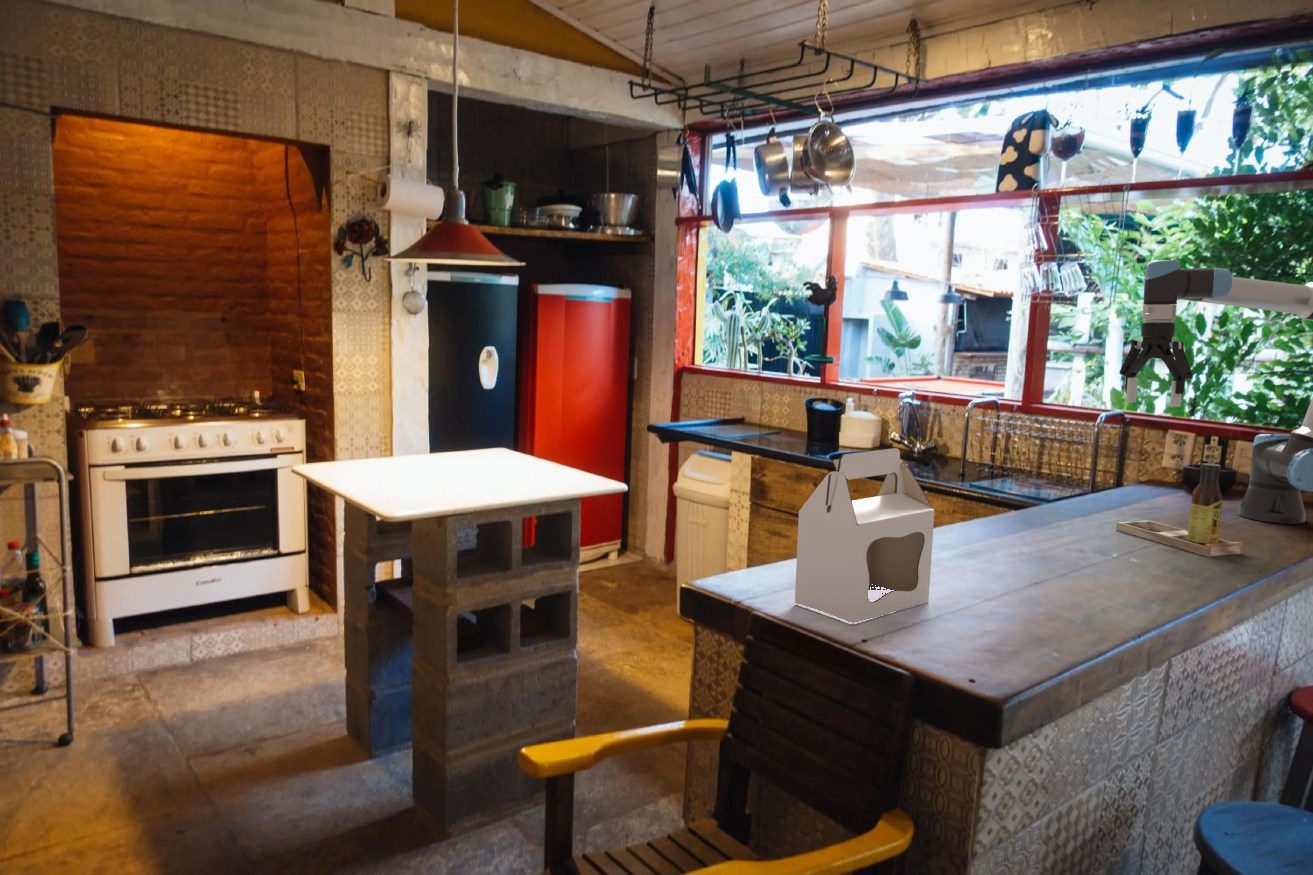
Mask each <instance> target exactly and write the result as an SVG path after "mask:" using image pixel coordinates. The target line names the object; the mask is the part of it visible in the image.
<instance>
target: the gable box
mask: <svg viewBox="0 0 1313 875" xmlns="http://www.w3.org/2000/svg"><path fill="white" fill-rule="evenodd" d="M900 452H901V451H900V449H899V448H896V447H892V448H887V449H886V448H885V449H877V450H876V449H875V450H868V451H861V452H860V451H858V452H852V453H851V452H850V453H843V454H841V455H840V456H839V458H838V459H833V460H832V464H833V466H834V470H835V471H834V470H833V471H831V472H829V473H827V474H826V475H825V477H824V478H823V479H822V480H821V482H820V483H819V484H818V486H816V489H814V491H813V492H812V493H811V495H810V496H809V497H808V499H807V500H806V501H805V503H803V505H802V507H801V508H800V509H799V510H798V523H797V524H798V525H797V545H796V564H795V565H796V567H795V568H796V569H795V588H794V589H795V590H794V591H795V592H794V604H795V603H797V604H802V605H804V606H807V607H810V608H814V609H817V610H819V611H823V612H825V613H828V614H830V615H833V616H836V617H838V618H841V619H844V620H846V621H848V622H852V623H854V622H859V621H863V620H866V619H870V618H875V617H878V616H881V615H886V614H889V613H891V612H894V611H899V610H902V609H906V608H909V609H911V607H912V608H914V606H915V607H918V606H917V605H919V606H921V604H922V605H925V604H929V600H930V587H931V586H930V584H931V569H932V568H931V567H932V554H933V539H934V526H935V525H934V522H935V521H934V520H935V509H934V507H933V505H932V503H931V502H930V500H929V499H928V497H927V495H926V494H925V492H924V490H923V489H922V487H921V485H920V484H919V482H918V480H917V479H916V477H915V475H914V473H913V472H912V470H911V469H910V468H909V466H908V464H907V463H902V462H901V453H900ZM883 475H885V478H884V481H883V483H882V484H881V487H880V489H879V492H878V494H877V495H876V496H873V497H866V498H860V499H854V500H852V497H851V492H850V489H849V484H848V481H849V480H850V481H851V480H855V479H864V478H869V477H870V478H871V477H876V476H883ZM872 584H873V585H872ZM875 585H876V586H875ZM878 586H879V587H880V589H877V590H881V587H884V588H886V590H887V589H890V590H894V591H891V592H889V593H887V594H886V593H885V595H883V596H882V597H881V598H879V599H878V600H876V601H874V602H870V601H869V599H868V590H870V587H871V590H876V588H875V587H878ZM872 587H874V588H872ZM883 590H885V589H883ZM882 594H883V593H882ZM906 610H907V609H906ZM902 611H903V610H902ZM899 612H900V611H899ZM889 615H890V614H889ZM886 616H887V615H886Z"/></svg>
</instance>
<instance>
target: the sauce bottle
mask: <svg viewBox="0 0 1313 875" xmlns="http://www.w3.org/2000/svg"><path fill="white" fill-rule="evenodd" d="M1199 470H1200V476H1199V483H1198V484H1197V486H1195V487H1194V489H1193V490H1192V494H1191V496H1192V497H1191V502H1190V509H1189V516H1188V517H1189V518H1188V525H1187V526H1188V527H1187V530H1188V534H1187V541H1189V542H1192V543H1196V544H1199V545H1203V546H1205V544H1216V543H1218V540H1219V539H1220V529H1221V521H1222V514H1223V513H1222V512H1223V506H1224V505H1223V503H1224V499H1223V494H1222V492H1221V488H1220V482H1219V481H1220V473H1221V471H1222V465H1221V464H1217V463H1205V462H1203V463H1200V468H1199Z"/></svg>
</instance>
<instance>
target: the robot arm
mask: <svg viewBox="0 0 1313 875" xmlns="http://www.w3.org/2000/svg"><path fill="white" fill-rule="evenodd" d="M1180 263H1181V262H1180V261H1179V260H1176V259H1174V260H1173V259H1157V260H1151V261H1149V262H1148V263H1147V264H1146V266H1145V273H1144V278H1143V281H1144V283H1143V285H1144V286H1143V304H1142V316H1141V319H1142V321H1144V322H1142V323H1141V326H1140V328H1141V329H1140V336H1141V337H1142V339H1141V340H1139V339H1137V340H1136V339H1133V340H1132V341H1131V344H1130V350H1129V351H1128V353H1127V356H1126V358H1125V360H1124V362H1123V363H1122V365H1121V368H1120V370H1119V372H1118V373H1119V375H1122V376H1124V377H1125V385H1124V386H1125V387H1124V388H1125V390H1126V397H1125V398H1126V399H1125V403H1128V404H1129V403H1137V397H1138V382H1139V377H1138V376H1137V375H1138V374H1139V372H1140V371H1141V370H1142V368H1143V367H1144V366H1145V365H1146V364H1147V362H1148V361H1149V360H1150V359H1151V360H1152V359H1160V360H1161V361H1163V363H1164V365H1165V366H1166V367H1167V369H1168V371H1169V373H1170V374H1171V375H1172V377H1173V380H1171V387H1170V402H1169V407H1170V408H1180V407H1181V406H1182V394H1184V393H1185V384H1186V383H1185V382H1186V381H1187V380H1191V379H1193V377H1194V375H1193V373H1192V370H1191V367H1190V364H1189V360H1188V358H1187V355H1186V352H1185V348H1184V347H1185V345H1184V344H1185V343H1184V341H1182V340H1177V341H1175V340H1174V341H1173V337H1175V333H1176V332H1175V330H1176V324H1175V322H1174V321H1176V319H1177V305H1178V301H1180V300H1183V301H1189V302H1190V301H1192V302H1200V303H1209V304H1215V305H1216V304H1217V305H1222V306H1223V305H1224V306H1231V307H1238V308H1247V309H1254V310H1262V311H1271V312H1276V313H1277V312H1279V313H1285V314H1287V313H1288V314H1294V315H1296V316H1297V318H1299V319H1301V320H1310V321H1313V281H1309V282H1307V283H1305V284H1297V283H1296V284H1295V283H1287V282H1278V281H1270V280H1265V279H1264V280H1263V279H1256V278H1248V277H1238V276H1232V273H1231V271H1230V270H1229V269H1227V268H1223V267H1221V268H1220V267H1216V266H1215V267H1202V268H1201V267H1198V268H1197V267H1195V268H1184V267H1181V265H1180ZM1251 449H1252V454H1251V463H1250V470H1249V481H1248V487H1247V490H1246V492H1245V494H1244V495H1243V498H1242V500H1241V502H1240V504H1239V505H1238V510H1237V514H1238V515H1239V516H1241V517H1243V518H1246V519H1251V520H1256V521H1260V522H1266V523H1274V524H1275V523H1277V524H1288V525H1289V524H1291V525H1292V524H1303V523H1305V522H1306V516H1307V514H1306V511H1305V506H1304V502H1303V498H1302V495H1301V492H1302V491H1304V492H1310V493H1311V492H1313V396H1312V397H1311V399H1310V403H1309V405H1308V408H1307V410H1306V413H1305V416H1304V418H1303V421H1302V424H1301V426H1300V427H1298V428H1297V429H1294V430H1292V431H1291V432H1290V434H1285V433H1284V434H1283V433H1282V434H1281V433H1260V434H1257V435H1255V437H1254V440H1253V445H1252V448H1251Z"/></svg>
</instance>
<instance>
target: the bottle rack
mask: <svg viewBox="0 0 1313 875" xmlns="http://www.w3.org/2000/svg"><path fill="white" fill-rule="evenodd" d="M1115 526H1116V529H1115V531H1117V530H1118V531H1117V532H1120V531H1123V532H1122V533H1124V532H1126V533H1125V534H1127V533H1128V534H1127V535H1131V534H1133V535H1132V536H1134V535H1136V536H1135V537H1137V536H1139V537H1138V538H1141V537H1142V538H1141V539H1144V538H1147V539H1146V540H1148V539H1150V540H1149V541H1151V540H1153V541H1152V542H1155V541H1157V542H1156V543H1158V542H1161V543H1160V544H1162V543H1164V544H1163V545H1165V544H1167V545H1166V546H1169V545H1171V546H1170V547H1172V546H1174V547H1173V548H1176V547H1177V548H1176V549H1179V548H1181V549H1180V550H1183V549H1184V551H1186V552H1190V553H1193V552H1194V554H1197V555H1201V556H1203V557H1218V556H1219V557H1220V556H1230V555H1240V554H1241V555H1242V554H1243V553H1244V552H1243V550H1244V549H1243V548H1244V544H1245V542H1243V541H1229V540H1226V539H1221V538H1219V540H1218V543H1216V544H1205V546H1203V545H1199V544H1196V543H1192V542H1189V541H1187V534H1188V529H1184V528H1180V527H1176V526H1171V525H1168V524H1164V523H1160V522H1157V521H1153V520H1151V519H1150V520H1149V519H1148V520H1136V521H1122V522H1120V521H1119V522H1116V525H1115ZM1147 528H1149V529H1147ZM1151 529H1152V530H1151ZM1154 530H1155V531H1154ZM1158 531H1161V532H1158Z"/></svg>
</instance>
